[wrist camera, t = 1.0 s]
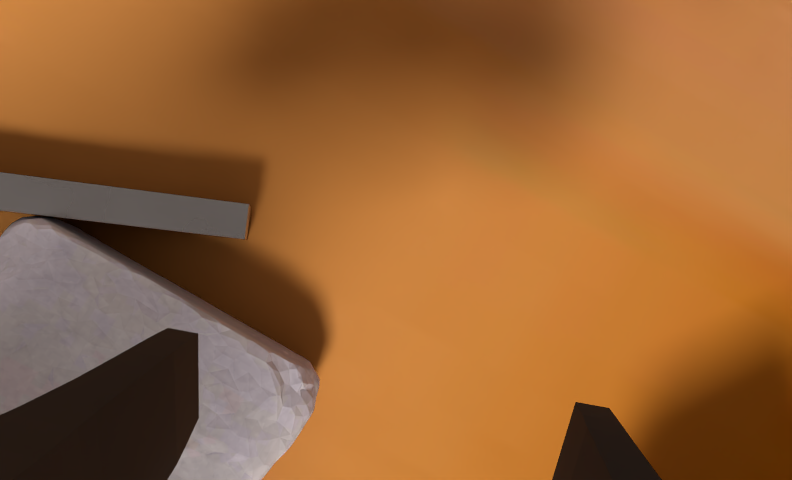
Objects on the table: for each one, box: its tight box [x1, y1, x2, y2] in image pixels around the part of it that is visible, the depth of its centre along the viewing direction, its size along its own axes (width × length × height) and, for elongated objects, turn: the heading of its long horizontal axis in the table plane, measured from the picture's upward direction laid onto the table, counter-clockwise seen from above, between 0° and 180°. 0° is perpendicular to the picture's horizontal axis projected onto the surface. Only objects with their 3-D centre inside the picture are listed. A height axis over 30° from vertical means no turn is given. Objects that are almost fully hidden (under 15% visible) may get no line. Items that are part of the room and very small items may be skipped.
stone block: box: [0, 216, 319, 480], centre depth 22 cm, size 12×5×10 cm
